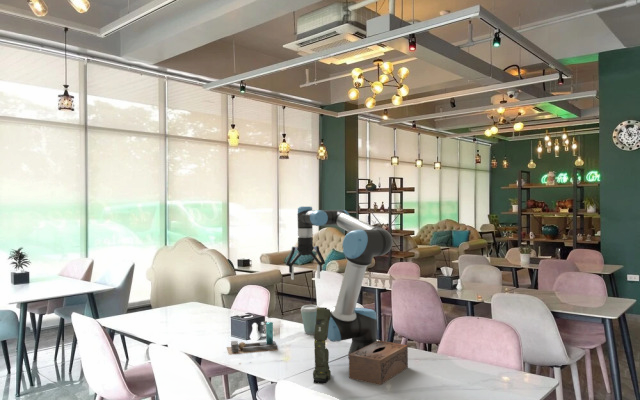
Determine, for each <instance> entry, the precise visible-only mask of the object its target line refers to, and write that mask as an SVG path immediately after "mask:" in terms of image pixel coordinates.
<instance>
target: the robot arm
mask: <svg viewBox="0 0 640 400" xmlns="http://www.w3.org/2000/svg"><path fill="white" fill-rule="evenodd" d="M296 215H297V246H292V247H291V251H290V253H289V255H288V257H287V259H286V261H285V265H286V266H288V272H289V273H290V276H291V277H290V280H292V281H294V280H295V279H294V277H295V273H294V272H295V271H294V268H295V267H294V266H293V265H294V264H295V263H296V262H297V261H298V259H299V258H300V257H301V256H311V257H312V258H313V260H314V261H315V262H316V263H317V265H316V273H317V274H316V278H317V279H321V273H322V270H323V269H322V267H323V265H326V261H325V259H324V257H323V255H322V252H321V251H320V246H319V245H316V246H314V243H313V242H314V239H313V235H314V234H313V233H314V232H313V230H314V229H313V226H316V227H321V226H336V227H338V228H340V229H342V230H344V231H346V232H348V233H346V235H345V236H344V238H343V240H342V248H343V249H342V252H343V254H344V256H345V260H347V262H346V267H345V270H344V274H343V278H342V282H341V284H340V285H341V286H340V289H339V292H338V296H337V301H336V304H335V305H334V306H333V307H332V308H331V310H330V312H331V317H330V320H329V328H328V338H327V340H329V341H330V342H333V343H334V342H341V341H342V342H343V341H346V340H351V343H350V347H349V350H348V360H349V354H351V353H353V352H355V351H357V350H360V349H362V348H364V347H366V346H368V345H370V344H372V343H374V342H376V341H378V338H377V336H378V331H377V327H378V326H377V323H378V321H377V320H378V319H377V312H376V311H375V310H374V309H370V308H365V307H357V303H358V301H359V295H360V293H361V289H362V285H363V280H364V278H365V274H366V271H367V267H369V266H370V265H372V262H373V260H374V259H373V258H374V257H380V256H381V257H382V256H384V255H386V254H388V253H389V252H390V251H391V249H392V247H393V243H394V241H393V236H392V235H391V233H390V232H389V231H388V230H386V229H384V228H383V227H381V226H378V225H377V226H374V225H371V224H369V223H367V222H365V221H362V220H361V219H358V218H356V217H354V216H352V215H350V213H349V211H347V210H345V209H325V210H324V209H323V210H322V209H316V210H315V209H313V207H312V206H297V214H296ZM296 251H298V252H297V253H296V255H295V256H294V254H295V252H296ZM313 251H315V252H316V254H317V255H318V258H317V256H316V255H315V253H314V252H313ZM293 256H294V258H293ZM292 258H293V259H292Z"/></svg>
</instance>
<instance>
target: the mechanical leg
mask: <svg viewBox="0 0 640 400" xmlns="http://www.w3.org/2000/svg"><path fill="white" fill-rule="evenodd" d="M330 317H331V310H330V308H328V307H319V306H318V308H317V314H316V324H315V332H314V335H313V338H314V344H313V346H314V370H313V372H312V378H313V384H321V385H324V384H325V385H326V384H327V383H328V381H329V380H331V376H332V375H331V374H332V371H331V369H330V367H329V365H330V364H329V359H330V352H329V349H328V348H327V347H326V340H328V328H329V320H330Z"/></svg>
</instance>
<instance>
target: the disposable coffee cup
mask: <svg viewBox="0 0 640 400" xmlns="http://www.w3.org/2000/svg"><path fill="white" fill-rule="evenodd" d="M318 307H319V306H318V305H316V304H304V305H302V306H301V308H300V312H301V318H302V325H303V331H304V333H305V334H307V335H313V334H314V332H315V324H316V314H317V308H318Z"/></svg>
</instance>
